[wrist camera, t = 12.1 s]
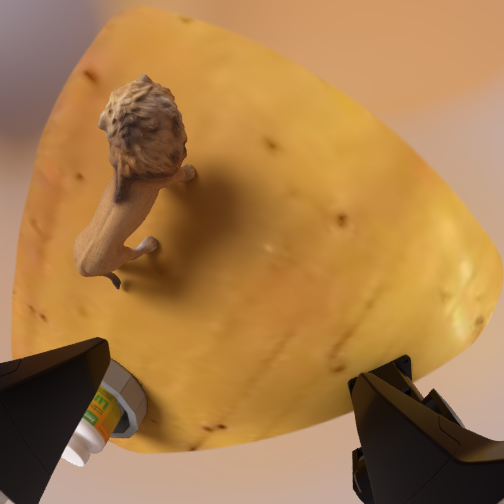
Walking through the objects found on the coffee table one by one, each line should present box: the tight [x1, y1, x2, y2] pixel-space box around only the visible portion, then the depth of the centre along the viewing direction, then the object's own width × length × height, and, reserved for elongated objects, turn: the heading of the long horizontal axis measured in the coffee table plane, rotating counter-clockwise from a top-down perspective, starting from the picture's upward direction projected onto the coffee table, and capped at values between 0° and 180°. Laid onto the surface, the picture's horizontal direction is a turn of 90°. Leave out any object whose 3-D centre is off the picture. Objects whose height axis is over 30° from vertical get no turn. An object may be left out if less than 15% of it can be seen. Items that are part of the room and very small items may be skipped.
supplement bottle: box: [61, 385, 125, 467], centre depth 18 cm, size 5×5×10 cm
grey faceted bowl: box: [101, 359, 147, 438], centre depth 22 cm, size 10×10×3 cm
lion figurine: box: [73, 74, 195, 289], centre depth 15 cm, size 15×5×9 cm, turn 155°
